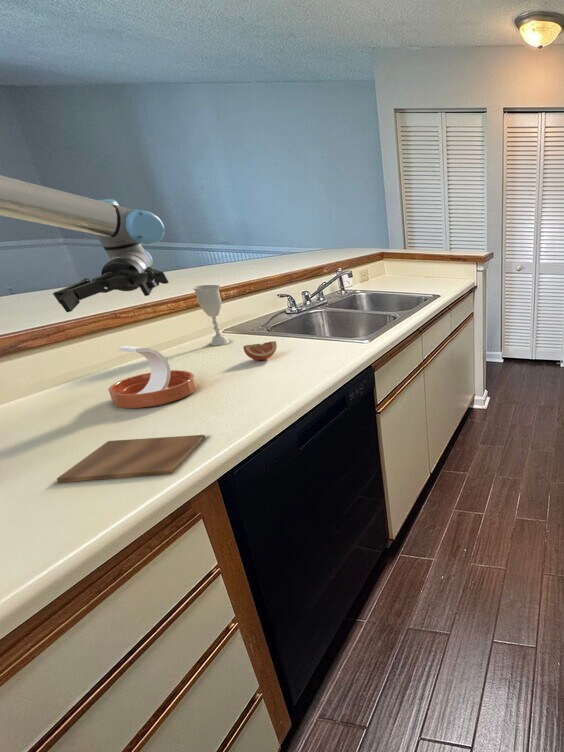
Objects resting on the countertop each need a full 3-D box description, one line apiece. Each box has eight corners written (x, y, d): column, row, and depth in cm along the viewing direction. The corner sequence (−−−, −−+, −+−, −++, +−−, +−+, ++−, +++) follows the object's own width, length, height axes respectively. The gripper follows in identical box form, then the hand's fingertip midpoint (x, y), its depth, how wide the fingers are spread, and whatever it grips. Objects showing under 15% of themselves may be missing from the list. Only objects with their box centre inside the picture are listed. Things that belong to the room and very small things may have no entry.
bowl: (96, 412, 90) (90, 397, 88) (140, 385, 103) (135, 371, 102) (176, 407, 92) (171, 393, 91) (208, 381, 106) (205, 368, 105)
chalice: (201, 345, 134) (186, 288, 127) (218, 339, 140) (204, 284, 133) (222, 346, 133) (207, 289, 126) (238, 340, 139) (225, 285, 132)
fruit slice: (275, 353, 127) (272, 338, 125) (282, 359, 123) (279, 343, 121) (244, 359, 122) (240, 343, 120) (250, 365, 117) (246, 348, 116)
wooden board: (58, 482, 67) (56, 478, 67) (109, 444, 78) (108, 440, 78) (171, 473, 70) (170, 469, 69) (205, 438, 81) (204, 434, 80)
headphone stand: (135, 397, 95) (117, 347, 91) (161, 387, 101) (145, 339, 96) (152, 400, 95) (135, 348, 90) (177, 389, 100) (162, 341, 96)
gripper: (190, 275, 112) (182, 299, 96) (72, 299, 102) (41, 329, 86) (175, 247, 108) (165, 267, 92) (51, 269, 98) (15, 295, 82)
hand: (105, 297), depth 89 cm, fingers open, 13 cm apart
